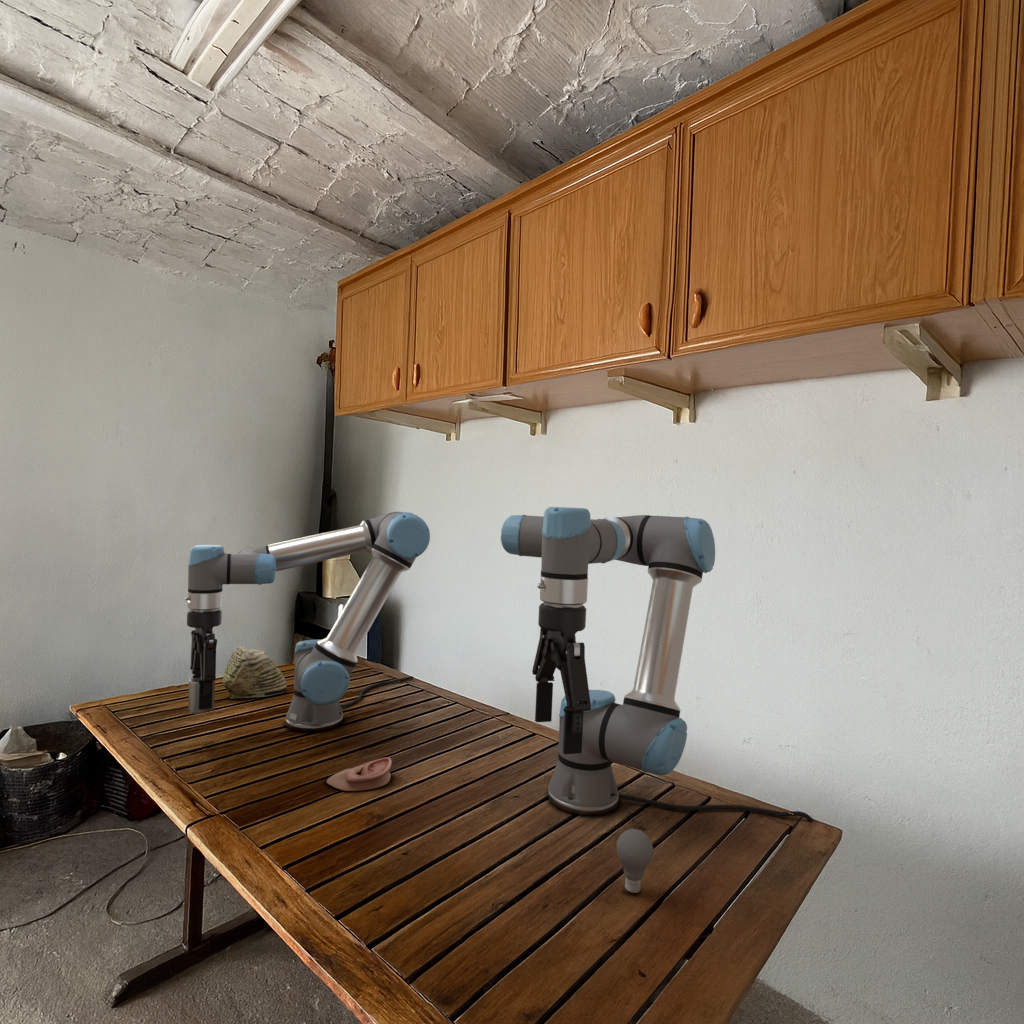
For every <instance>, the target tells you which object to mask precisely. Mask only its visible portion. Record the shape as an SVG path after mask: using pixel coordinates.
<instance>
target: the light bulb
mask: <svg viewBox="0 0 1024 1024" xmlns="http://www.w3.org/2000/svg"><path fill="white" fill-rule="evenodd" d="M615 849H616V854H617V857H618V859H619V861H620V863H621V865H622V867H623V873H624V874H623V875H624V876H625V878H624V888H625V890H627V891H628V892H630V893H634V894H635V893H639V892H640V891H641V889H642V887H641V886H642V879H643V877H644V875H645V871H646V868H647V867H648V866H649V864H650V863H651V861H652V859H653V855H654V847H653V843H652V841H651V838H649V836H648V835H647V834H646V833H645V832H643V831H642V830H641V829H636V828H629V829H627V830H625V831H623V832H622V833H621V834H620V835H619V837H618V839H617V841H616V847H615Z"/></svg>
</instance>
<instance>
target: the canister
mask: <svg viewBox="0 0 1024 1024" xmlns="http://www.w3.org/2000/svg"><path fill="white" fill-rule="evenodd" d="M200 680H201V676H199V677H194V678H193V677H192V678H189V680H188V699H187V700H188V704H187V712H188V713H189V714H195V715H197V714H198V715H199V714H206V713H210V712H212V711H214V710H215V696H216V693H215V692H216V680H214V681H213V682H212V708H208V709H202V710H199V683H198V681H200Z"/></svg>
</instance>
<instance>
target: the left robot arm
mask: <svg viewBox="0 0 1024 1024" xmlns="http://www.w3.org/2000/svg"><path fill="white" fill-rule="evenodd" d="M430 541H431V531H430V529H429V526H428V524H427V522H426V521H425V520H424V519H423V518H422V517H420V516H419V515H417V514H415V513H413V512H404V511H392V512H388V513H385V514H383V515H380V516H377V517H373V518H370V519H365V520H362V521H361V523H360V524H358V525H354V526H349V527H345V528H340V529H336V530H331V531H326V532H321V533H317V534H312V535H307V536H303V537H299V538H294V539H289V540H285V541H279V542H275V543H271V544H267V545H261V546H257V547H247V548H243V549H241V550H240V551H239V552H237V553H228V552H225V548H224V546H223V545H219V544H196V545H194V546H192V547H190V549H189V555H188V564H187V567H188V568H187V570H188V571H187V573H188V574H187V595H188V596H185V597H184V600H185V601H187V609H189V610H188V611H187V612H186V626H187V627H189V628H193V629H192V630H191V632H190V635H191V643H190V644H191V645H190V646H191V647H190V649H191V650H190V666H189V669H190V671H191V674H192V678H194V677H199V676H201V680H200V681H198V683H199V710H202V709H208V708H212V682H213V681H214V680H215V681H216V680H217V677H216V674H217V673H216V672H217V645H218V639H217V638H216V635H215V633H214V628H215V627H219V626H220V625H222V616H223V610H222V609H221V608H222V607H223V593H224V591H223V587H224V586H223V585H259V586H261V585H270V584H273V583H274V582H275V580H276V572H281V571H285V570H288V569H293V568H297V567H302V566H307V565H311V564H315V563H320V562H325V561H328V560H333V559H338V558H343V557H346V556H351V555H355V554H359V553H365V552H367V553H368V554H371V555H372V558H371V560H370V561H369V563H368V565H367V567H366V569H364V572H363V574H362V575H361V577H360V579H359V580H358V582H357V584H356V586H355V587H354V590H353V591H352V592H351V595H350V596H349V598H348V599H347V602H346V603H345V605H344V607H343V609H342V610H341V611H340V614H339V615H338V617H337V619H336V620H335V622H334V624H333V625H332V628H331V629H330V631H329V633H328V634H327V636H326V637H325V638H323V639H307V640H301V641H298V642H297V643H295V648H294V649H295V650H294V672H293V673H294V674H293V675H294V679H293V695H292V696H293V697H292V699H291V702H290V704H289V708H288V711H287V713H286V715H285V726H286V728H287V729H289V730H291V731H294V732H295V731H296V732H301V733H316V732H325V731H329V730H332V729H335V728H337V727H339V726H340V725H342V723H343V722H344V713H343V709H344V708H346V707H349V706H353V705H354V704H356V703H357V702H359V701H360V700H362V698H363V696H364V695H363V694H364V693H366V692H367V691H368V690H370V689H372V688H375V687H379V686H383V685H388V684H389V685H390V684H393V683H398V682H403V681H408V680H413V679H414V676H413V675H411V676H406V677H401V678H396V679H391V680H386V681H381V682H377V683H374V684H371V685H368V686H366V687H364V689H362V690H361V691H360V693H359V696H358V697H356V698H355V699H353V700H352V701H350V702H347V703H344V704H343V703H342V704H341V702H340V700H341V699H342V698H343V697H344V696H345V695H346V693H347V691H348V689H349V685H350V682H351V681H350V676H351V674H352V673H353V671H354V669H355V667H356V665H357V664H358V662H359V660H358V657H357V652H358V650H359V648H360V646H361V645H362V643H363V641H364V640H365V638H366V636H367V635H368V632H369V631H370V629H371V627H372V625H373V623H374V622H375V620H376V618H377V617H378V615H379V613H380V611H381V609H382V607H383V606H384V605H385V603H386V601H387V599H388V598H389V595H390V594H391V592H392V590H393V588H394V587H395V585H396V583H397V581H398V579H399V577H400V576H401V574H402V573H403V572H407V571H409V570H410V569H411V567H412V566H413V564H414V562H415V560H416V559H417V558H418V557H420V556H421V555H422V554H423V553H425V552H426V550H427V549H428V547H429V544H430ZM342 708H343V709H342Z"/></svg>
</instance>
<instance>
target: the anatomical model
mask: <svg viewBox="0 0 1024 1024" xmlns="http://www.w3.org/2000/svg"><path fill="white" fill-rule="evenodd" d="M392 765H393V761H392V758H391V757H388V756H387V757H381V758H377V759H374V760H371V761H368V762H364V763H362V764H360V765H358V766H354V767H351V768H346V769H343V770H341V771H338V772H337V773H335V774H333V775H331V776H330V777H329V778H327V780H326V784H327V785H329V786H331V787H333V788H335V789H337V790H340V791H344V792H355V791H356V792H357V791H358V792H359V791H367V790H372V789H377V788H380V787H383V786H385V785H387V784H388V783H389V782H390V781H391V777H392V775H391V772H390V771H391V769H392Z"/></svg>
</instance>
